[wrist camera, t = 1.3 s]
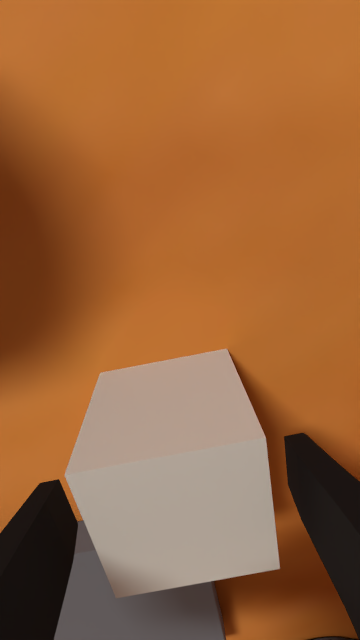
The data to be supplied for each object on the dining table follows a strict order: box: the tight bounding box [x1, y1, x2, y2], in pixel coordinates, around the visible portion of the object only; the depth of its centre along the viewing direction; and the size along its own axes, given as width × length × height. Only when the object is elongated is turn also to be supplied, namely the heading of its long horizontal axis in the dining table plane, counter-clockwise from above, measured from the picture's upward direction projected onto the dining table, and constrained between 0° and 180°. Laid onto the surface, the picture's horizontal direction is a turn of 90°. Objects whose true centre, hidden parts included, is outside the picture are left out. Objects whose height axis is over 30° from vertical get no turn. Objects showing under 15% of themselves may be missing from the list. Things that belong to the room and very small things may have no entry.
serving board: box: [54, 521, 226, 640], centre depth 16 cm, size 14×10×2 cm
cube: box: [65, 349, 280, 598], centre depth 11 cm, size 5×5×5 cm
